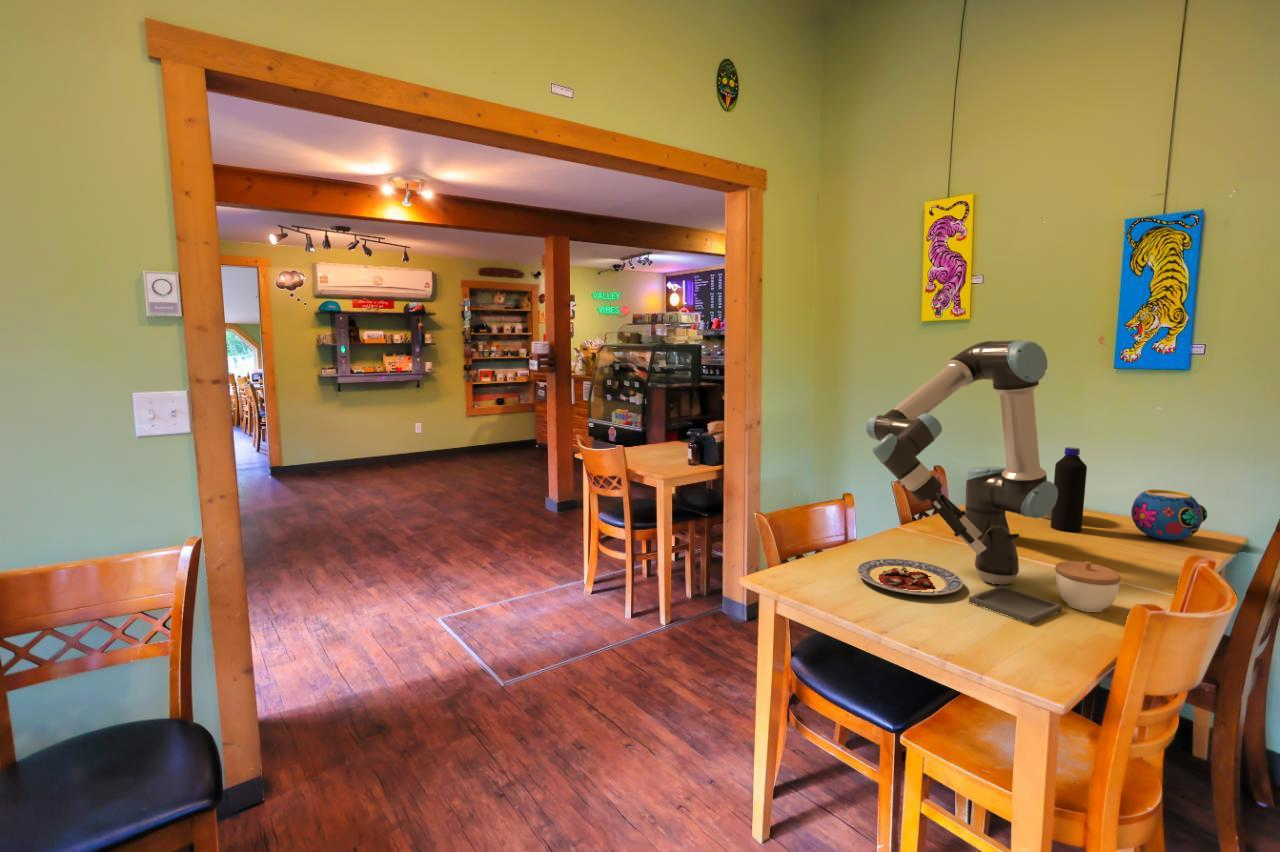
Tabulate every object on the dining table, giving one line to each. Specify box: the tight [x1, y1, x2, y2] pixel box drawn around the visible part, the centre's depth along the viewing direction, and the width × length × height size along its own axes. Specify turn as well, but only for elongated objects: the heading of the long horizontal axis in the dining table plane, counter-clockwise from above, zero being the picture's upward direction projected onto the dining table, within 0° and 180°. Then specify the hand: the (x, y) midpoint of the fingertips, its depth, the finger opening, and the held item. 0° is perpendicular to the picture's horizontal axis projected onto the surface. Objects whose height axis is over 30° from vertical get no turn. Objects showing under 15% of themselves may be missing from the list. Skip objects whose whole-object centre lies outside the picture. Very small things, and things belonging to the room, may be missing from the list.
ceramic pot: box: [1130, 489, 1208, 542], centre depth 200 cm, size 18×18×15 cm
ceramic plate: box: [856, 558, 964, 596], centre depth 164 cm, size 26×26×3 cm
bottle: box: [1050, 446, 1088, 533], centre depth 210 cm, size 9×9×28 cm
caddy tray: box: [968, 585, 1063, 625], centre depth 148 cm, size 14×14×2 cm
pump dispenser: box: [974, 526, 1020, 586], centre depth 163 cm, size 10×10×15 cm
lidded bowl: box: [1054, 560, 1122, 614], centre depth 148 cm, size 13×13×11 cm
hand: (980, 543), depth 164 cm, fingers open, 13 cm apart
